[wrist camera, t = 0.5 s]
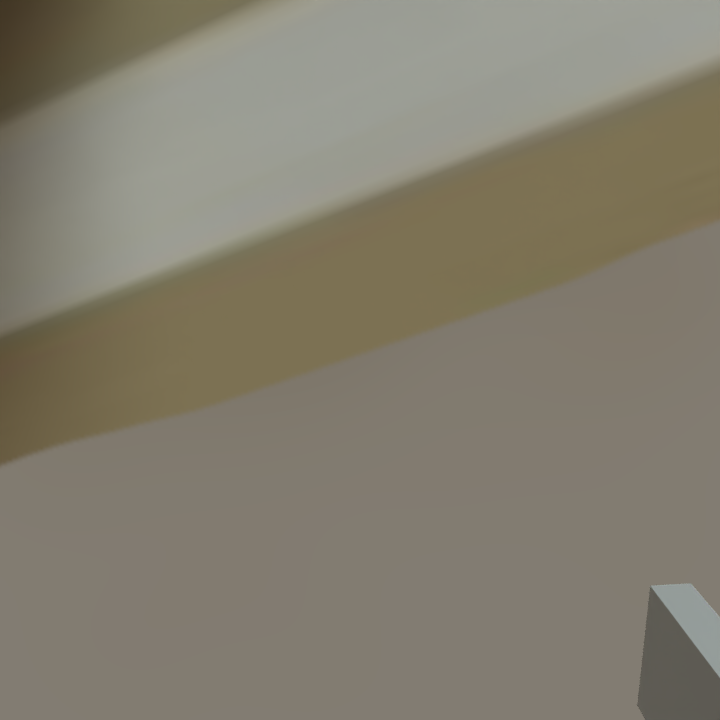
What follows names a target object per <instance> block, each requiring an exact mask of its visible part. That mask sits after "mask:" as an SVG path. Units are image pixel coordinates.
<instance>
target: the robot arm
mask: <svg viewBox="0 0 720 720" xmlns="http://www.w3.org/2000/svg"><path fill="white" fill-rule="evenodd" d="M639 686H640V687H639V695H638V705H637V706H638V707H639V709H640V711H641V712H642V714H643V716H644V718H645V720H720V617H719V616H718V615H717V613H716V612H715V611H714V610H713V609H712V608H711V607H710V605H709V604H708V603H707V602H706V601H705V599H704V598H703V597H702V596H701V595H700V594H699V592H698V591H697V590H696V589H695V588H694V587H693V585H692V584H673V585H656V586H650V593H649V602H648V612H647V621H646V630H645V640H644V648H643V658H642V667H641V677H640V685H639Z"/></svg>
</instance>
